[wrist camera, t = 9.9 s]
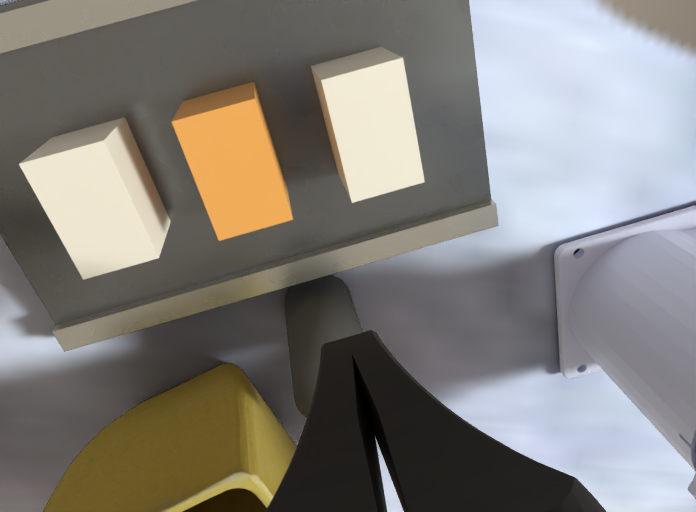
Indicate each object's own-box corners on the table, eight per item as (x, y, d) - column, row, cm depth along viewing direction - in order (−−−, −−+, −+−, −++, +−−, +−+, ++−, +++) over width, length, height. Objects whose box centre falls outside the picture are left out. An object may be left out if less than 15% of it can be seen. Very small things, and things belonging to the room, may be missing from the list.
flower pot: (249, 309, 24) (250, 473, 16) (331, 433, 28) (364, 612, 20) (75, 392, 24) (-10, 591, 16) (181, 502, 28) (155, 703, 20)
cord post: (342, 264, 23) (369, 347, 18) (357, 319, 25) (386, 410, 20) (275, 284, 23) (283, 372, 18) (294, 338, 25) (307, 434, 19)
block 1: (125, 117, 18) (104, 140, 15) (170, 221, 20) (158, 258, 17) (52, 136, 18) (18, 164, 15) (105, 240, 20) (83, 279, 17)
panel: (443, -110, 18) (461, -118, 16) (483, 213, 23) (498, 229, 22) (-98, 35, 17) (-132, 40, 16) (78, 331, 23) (66, 355, 21)
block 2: (253, 81, 18) (254, 98, 16) (287, 188, 20) (293, 219, 18) (182, 101, 18) (171, 121, 16) (222, 206, 20) (218, 241, 17)
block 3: (380, 46, 18) (402, 57, 16) (401, 156, 20) (424, 182, 18) (310, 65, 18) (320, 80, 16) (338, 173, 20) (351, 202, 18)
